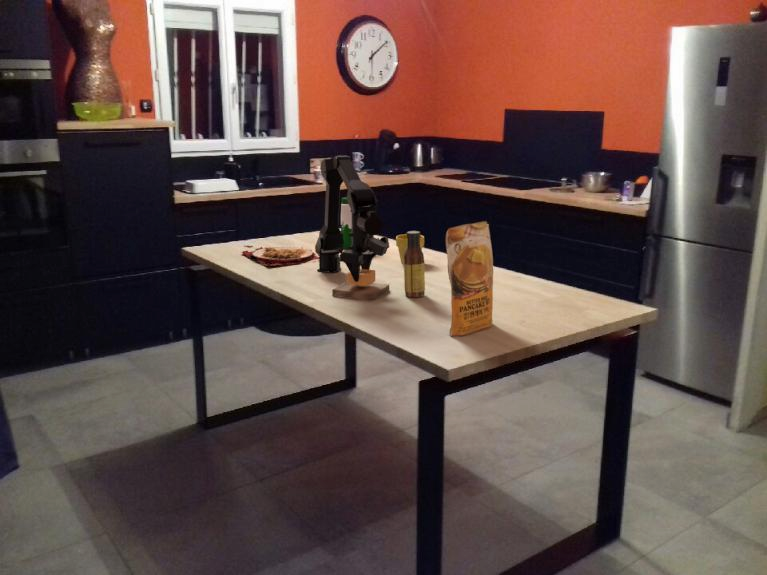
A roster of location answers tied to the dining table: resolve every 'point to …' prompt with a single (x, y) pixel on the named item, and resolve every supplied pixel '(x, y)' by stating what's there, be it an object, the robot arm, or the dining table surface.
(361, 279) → the orange square ring
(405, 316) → the dining table surface
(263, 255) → the plate with food
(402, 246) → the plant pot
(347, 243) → the milk carton
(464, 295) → the pancake mix bag
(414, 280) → the sauce bottle
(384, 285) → the brown peg board
